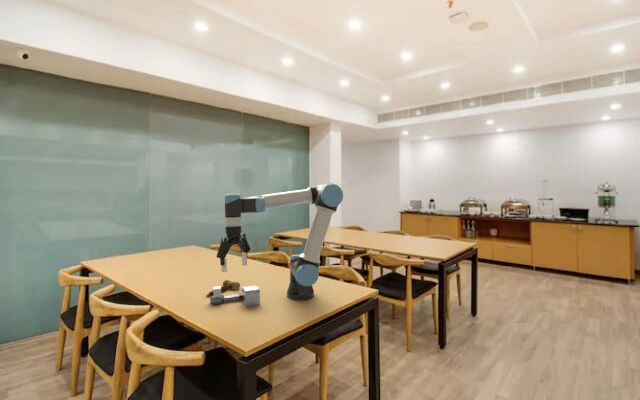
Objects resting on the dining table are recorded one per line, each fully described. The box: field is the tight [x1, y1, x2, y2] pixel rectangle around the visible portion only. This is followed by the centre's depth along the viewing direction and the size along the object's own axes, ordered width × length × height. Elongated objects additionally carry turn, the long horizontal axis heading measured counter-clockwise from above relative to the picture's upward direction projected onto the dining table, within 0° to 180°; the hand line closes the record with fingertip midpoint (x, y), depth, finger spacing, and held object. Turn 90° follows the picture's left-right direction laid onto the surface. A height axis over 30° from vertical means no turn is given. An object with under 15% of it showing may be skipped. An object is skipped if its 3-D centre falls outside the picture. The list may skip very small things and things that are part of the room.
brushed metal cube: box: [241, 285, 261, 308], centre depth 168 cm, size 8×8×8 cm
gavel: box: [205, 279, 241, 298], centre depth 186 cm, size 21×5×10 cm
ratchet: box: [209, 285, 242, 306], centre depth 172 cm, size 22×7×8 cm, turn 114°
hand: (234, 268), depth 158 cm, fingers open, 13 cm apart
